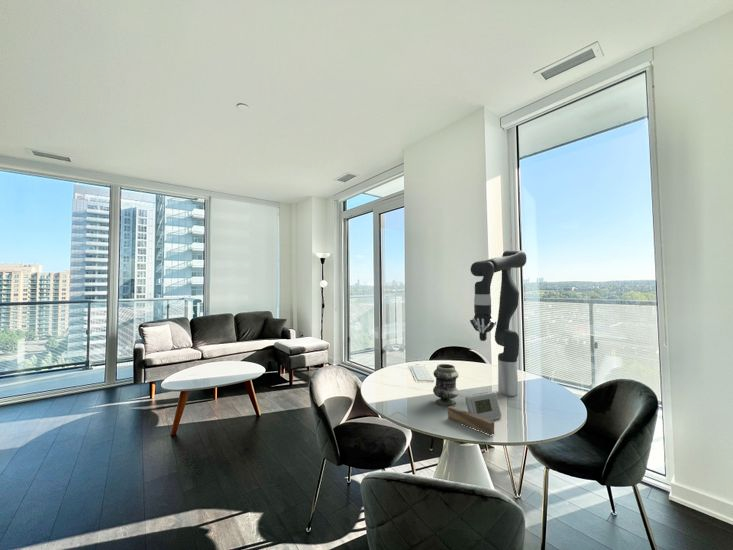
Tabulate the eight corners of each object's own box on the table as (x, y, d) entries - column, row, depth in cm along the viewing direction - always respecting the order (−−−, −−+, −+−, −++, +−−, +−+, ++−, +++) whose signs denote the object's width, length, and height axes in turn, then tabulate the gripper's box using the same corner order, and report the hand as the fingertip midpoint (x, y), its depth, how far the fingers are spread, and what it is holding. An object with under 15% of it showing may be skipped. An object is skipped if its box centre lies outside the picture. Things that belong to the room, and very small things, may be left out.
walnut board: (451, 417, 142) (451, 406, 142) (494, 434, 126) (494, 421, 126) (448, 419, 141) (448, 407, 141) (490, 436, 125) (490, 423, 125)
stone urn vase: (455, 409, 150) (454, 370, 151) (429, 405, 156) (429, 367, 156) (461, 401, 161) (461, 364, 161) (437, 396, 167) (437, 361, 167)
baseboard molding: (413, 383, 191) (433, 383, 191) (413, 378, 191) (433, 378, 191) (407, 368, 222) (425, 368, 222) (407, 363, 222) (425, 364, 222)
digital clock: (471, 426, 134) (471, 399, 134) (460, 416, 143) (460, 392, 143) (506, 422, 137) (506, 396, 137) (494, 413, 146) (494, 389, 146)
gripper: (500, 304, 151) (500, 341, 151) (474, 302, 162) (475, 337, 162) (491, 305, 147) (491, 343, 147) (465, 303, 157) (466, 339, 157)
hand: (482, 340), depth 154 cm, fingers closed
